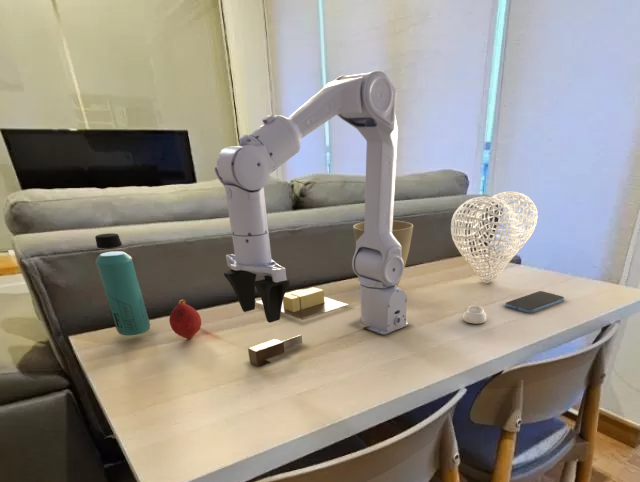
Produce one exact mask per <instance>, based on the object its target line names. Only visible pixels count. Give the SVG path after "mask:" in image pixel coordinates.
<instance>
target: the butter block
mask: <svg viewBox="0 0 640 482" xmlns="http://www.w3.org/2000/svg"><path fill="white" fill-rule="evenodd" d="M301 290H302V291H298V292H295V293H291V295H294V296H297V297H299V301H300V309H301V310H302V309H305V308H308V307H312V306H315V305H318V304H321V303H325V301H324V297H325V290H324V289H321V288H317V287H316V286H314V287H309V288H305V289H301Z"/></svg>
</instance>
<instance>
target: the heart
mask: <svg viewBox="0 0 640 482" xmlns="http://www.w3.org/2000/svg"><path fill="white" fill-rule="evenodd" d="M511 201H512V202H511ZM525 204H526V205H525ZM502 209H503V210H502ZM495 211H496V212H495ZM486 214H487V215H486ZM496 218H497V219H498V221H495V219H496ZM538 218H539V213H538V208H537V206H536V205H535V203H534V201H533V200H532V199H531V198H530V197H529V196H528V195H526V194H524V193H522V192H519V191H512V190H511V191H510V190H509V191H508V190H507V191H502V192H499V193H496V194H494V195H492V196H486V195H485V196H484V195H483V196H475V197H472V198H470V199H467V200H465V201H464V202H463V203H461V204H460V205H459V206H458V207H457V209H455V211H454V213H453V215H452V217H451V220H450V221H451V222H450V234H451V239H452V241H453V244H454V245H455V248H456V249H457V250H458V252H459V254H460V255H461V257H462V258H463V259H464V260H465V261H466V262H467V264H468V265H469V266H470V268H471V269H472V270H473V272H474V273H475V275H476V277H478V279H479V280H480V281H481V282H483V283H485V284H490V283H491V282H493V281H495V280H496V279H497V278H498V277H499V275H501V273H502V272H503V271H504V269H505V268H506V267H507V266H508V264H509V263H510V262H511V261H512V259H514V257H515V256H516V255H517V254H518V252H519V251H520V250H521V249H522V248H523V247H524V246H525V245H526V243H527V242H528V241H529V239H530V238H531V237H532V235H533V233H534V232H535V229H536V226H537V223H538ZM490 219H491V220H490ZM494 226H496V227H494ZM499 227H501V228H499ZM493 230H494V231H493ZM499 231H500V232H499ZM484 235H485V236H484ZM491 236H492V237H491ZM492 242H493V243H492ZM485 243H486V244H487V245H486V244H485ZM490 248H491V249H490ZM471 250H472V251H471ZM488 258H489V259H488Z"/></svg>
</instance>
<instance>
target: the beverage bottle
mask: <svg viewBox="0 0 640 482" xmlns="http://www.w3.org/2000/svg"><path fill="white" fill-rule="evenodd" d="M94 239H95V243H96V248H97V249H115V248H119V247H122V246H123V243H122V241H121V237H120V235H119V234H118V233H113V232H110V233H109V232H108V233H100V234H96V235H95V236H94ZM95 265H96V267H97V271H98V274H99V277H100V280H101V284H102V289H103V291H104V294H105V296H106V302H107V304H108V307H109V312H110V315H111V318H112V322H113V325H114V327H115V328H114V329H115V330H116V331H117V333H118V334H119V335H121V336H135V335H136V336H137V335H141V334H145V333H146V332H148V331H149V330H151V325H152V323H151V321H150V318H149V313H148V308H147V307H146V303H145V300H144V296H143V295H144V294H143V292H142V288H141V286H140V284H139V280H138V277H137V272H136V269H135V265H134V261H133V257H132V256H131V255H130V254H128V253H126V252H125V251H123V250H122V251H121V250H119V251H118V250H115V251H114V250H113V251H106V252H103V253H99V255H98V256H97V258H96V259H95Z"/></svg>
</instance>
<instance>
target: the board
mask: <svg viewBox="0 0 640 482" xmlns="http://www.w3.org/2000/svg"><path fill="white" fill-rule="evenodd" d="M302 290H303V289H296V290H292V291H290V292H285V295H287V294H291V293H295V292H298V291H302ZM324 301H325V303H321V304H318V305H315V306H312V307H308V308H305V309H302V310H301V309H300V310H299V311H295V312H292V311H289V310H286V309H284V306H283V302H282V308H281V313H283V314H286V315H288V316H290V317H293V318H296V319H299V320H301V321H303V320H306V319H309V318H312V317H315V316H318V315H322V314H325V313H327V312H331V311H333V310H338V309H340V308H343V307H346V306H349V305H350V304H348V303H345V302H342V301H339V300H336V299H332V298H330V297H326V296H324ZM255 304H259V305H261V306H263V303H262V299H259V300H255Z"/></svg>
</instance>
